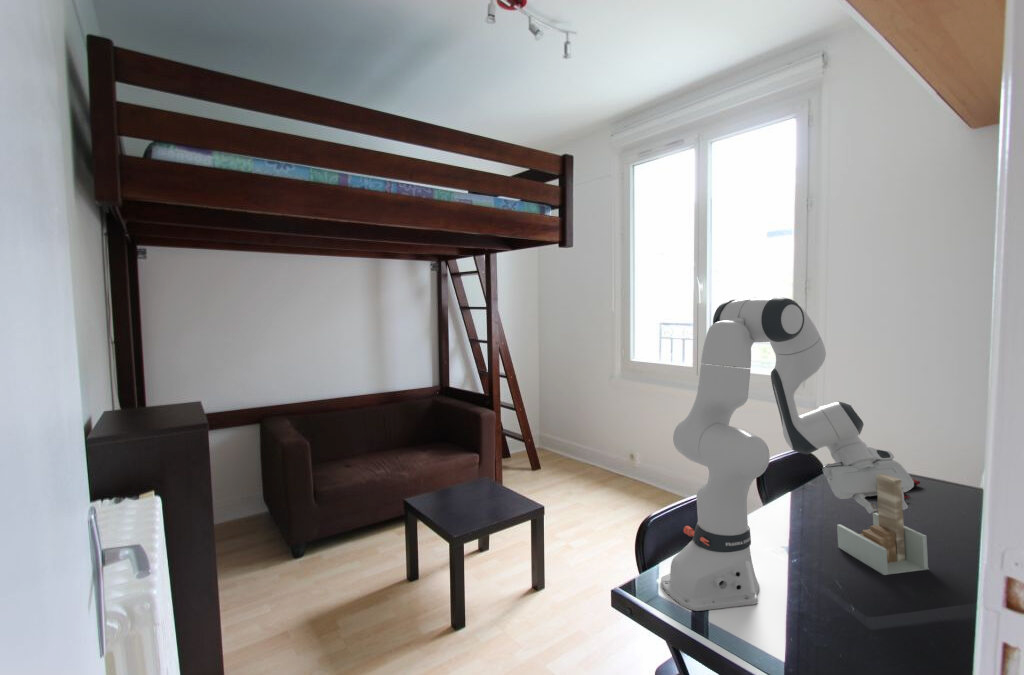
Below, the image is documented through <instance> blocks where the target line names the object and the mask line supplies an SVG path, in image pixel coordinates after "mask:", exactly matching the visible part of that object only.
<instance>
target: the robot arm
mask: <svg viewBox="0 0 1024 675" xmlns="http://www.w3.org/2000/svg"><path fill="white" fill-rule="evenodd" d="M712 318H713V319H712V324H711V325H710V326H709V328H708V331H707V333H706V335H705V340H704V344H703V346H702V348H703V349H702V354H701V360H700V368H699V377H698V378H699V379H698V387H697V394H696V396H695V400H694V403H693V405H692V407H691V410H690V412H689V413H688V415H687V416H686V417H685V418H684V419H683V420H682V421H681V422H679V423H678V424H677V426H676V427H675V429H674V431H673V435H672V441H673V442H672V443H673V444H674V447H675V449H676V450H677V451H678V452H679V453H680V454H681V455H682V456H684V457H685V458H686V459H688V460H689V461H691V462H693V463H696V464H698V465H700V466H701V465H702V466H705V467H706V468H708V479H707V480H708V481H707V482H706V483H705V484H703V485H702V486H701V487H699V488H698V490H697V492H696V509H697V510H696V513H697V522H696V524H695V528H692V527H691V526H689V525H685V526H684V527H683V530H682V531H683V533H684V534H685V535H687V536H688V537H692V540H691V541H689V543H687V545H685V546H684V547H683V549H682V550H680V551H679V552H678V553H677V554H676V555H675V556H674V557H673V558H672V560H671V564H670V571H669V572H670V573H668V574H665V575H663V576H661V581H660V583H662V584H661V587H662V586H663V587H662V589H663V588H664V589H665V590H666V591H665V590H664V589H663V590H664V591H665V593H666V592H667V593H668V594H669V595H670V596H671V597H670V596H669V595H668V594H667V593H666V594H667V595H668V596H669V597H670V598H671V599H673V600H674V599H675V600H676V601H677V602H676V601H675V600H674V601H675V602H676V603H678V602H679V603H680V604H679V603H678V604H679V605H681V606H683V607H684V608H687V609H688V610H691V611H696V612H699V611H707V610H708V611H709V610H716V609H717V610H718V609H725V608H733V607H734V608H735V607H743V606H749V605H756V604H758V601H759V600H758V593H759V591H760V584H759V582H758V578H757V576H756V573H755V569H754V564H753V560H752V555H751V554H752V553H751V545H752V538H751V528H750V526H749V525H748V494H749V490H750V486H751V485H752V483H753V482H754V480H755V479H757V478H759V477H761V476H762V475H763V474H764V473H765V472H766V470H767V468H768V467H769V464H770V457H771V456H770V455H771V454H770V450H769V447H768V444H767V443H766V442H765V440H763V439H762V438H761V437H759V436H757V435H755V434H754V433H753V432H750V431H748V430H746V429H744V428H739V427H735V426H732V425H730V421H731V418H732V416H733V414H734V412H735V411H736V410H737V409H739V408H741V407H742V406H745V404H746V403H747V401H748V398H749V389H750V379H751V367H752V346H753V345H754V343H770V345H771V347H772V350H773V352H774V355H775V365H774V368H773V369H772V370H771V372H770V380H771V386H772V390H773V395H774V398H775V402H776V406H777V409H778V412H779V417H780V422H781V426H782V435H783V437H784V440H785V442H786V444H787V445H788V446H789V447H790V448H791V450H793V451H794V452H796V453H800V454H804V455H809V454H811V453H814V452H816V451H819V449H822V448H824V447H826V448H827V449H828V451H829V453H830V456H831V457H832V459H833V461H834V462H833V463H825V464H824V465H823V467H822V472H823V475H824V476H825V477H826V479H827V483H828V485H829V487H830V489H831V490H832V493H833V495H834V496H835V497H836V498H837V499H840V500H846V499H852V498H853V499H854V500H855V502H857V504H859V505H860V506H862V507H863V508H865V510H866V511H867V513H868V514H873V513H878V507H877V506H876V505H875V503H871V502H870V501H868V500H867V499H866V497H865V496H874V495H877V479H876V474H886V475H889V476H892V477H894V478H897V479H900V480H901V485H902V505H903V511H904V510H906V509H908V507H909V506H908V503H907V502H906V501H905V498H904V496H905V493H907V492H909V491H910V490H912V489H913V488H914V487H915V486H914V481H913V480H912V479H913V478H912V477H911V475H910V474H909V473H908V472H907V470H906V469H905V468H904V466H903V465H902V464H900V462H898V461H897V460H894V459H895V456H894V454H893V453H892V452H891V451H889V450H883V449H877V448H874V447H871V446H868V445H867V444H866V443H865V442H864V441H863V440H862V439H861V438H860V436H859V435H861V433H862V431H863V427H864V422H863V420H862V419H861V418H860V416H859V414H858V413H857V412H856V411H855V409H854V408H853V406H852V405H851V404H848V403H846V402H843V401H835V402H831V403H828V404H826V405H825V404H824V405H821V406H818V407H817V408H815V409H814V410H811V411H809V412H806V413H803V414H798V409H797V405H796V401H795V393H796V392H797V390H798V389H799V388H800V387H801V386H802V385H803V383H805V382H806V381H807V380H808V379H809V378H811V377H812V376H813V375H814V374H816V373H817V372H818V371H819V370H820V369H821V367H822V366H823V364H824V362H825V359H826V358H827V357H826V354H827V352H826V346H825V344H824V342H823V339H822V337H821V335H820V333H819V331H818V329H817V327H816V325H815V323H814V322H813V320H812V319H811V317H810V316H809V315H808V313H807V312H806V311H805V310H804V308H803V307H802V306H801V305H799V303H798V302H797V301H795V300H793V299H791V298H789V297H781V296H776V297H757V296H756V297H755V296H754V297H746V298H745V297H744V298H740V299H732V300H727V301H725V302H723V303H721V304H719V306H717V308H716V310H715V312H714V314H713V317H712ZM903 492H905V493H903Z"/></svg>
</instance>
